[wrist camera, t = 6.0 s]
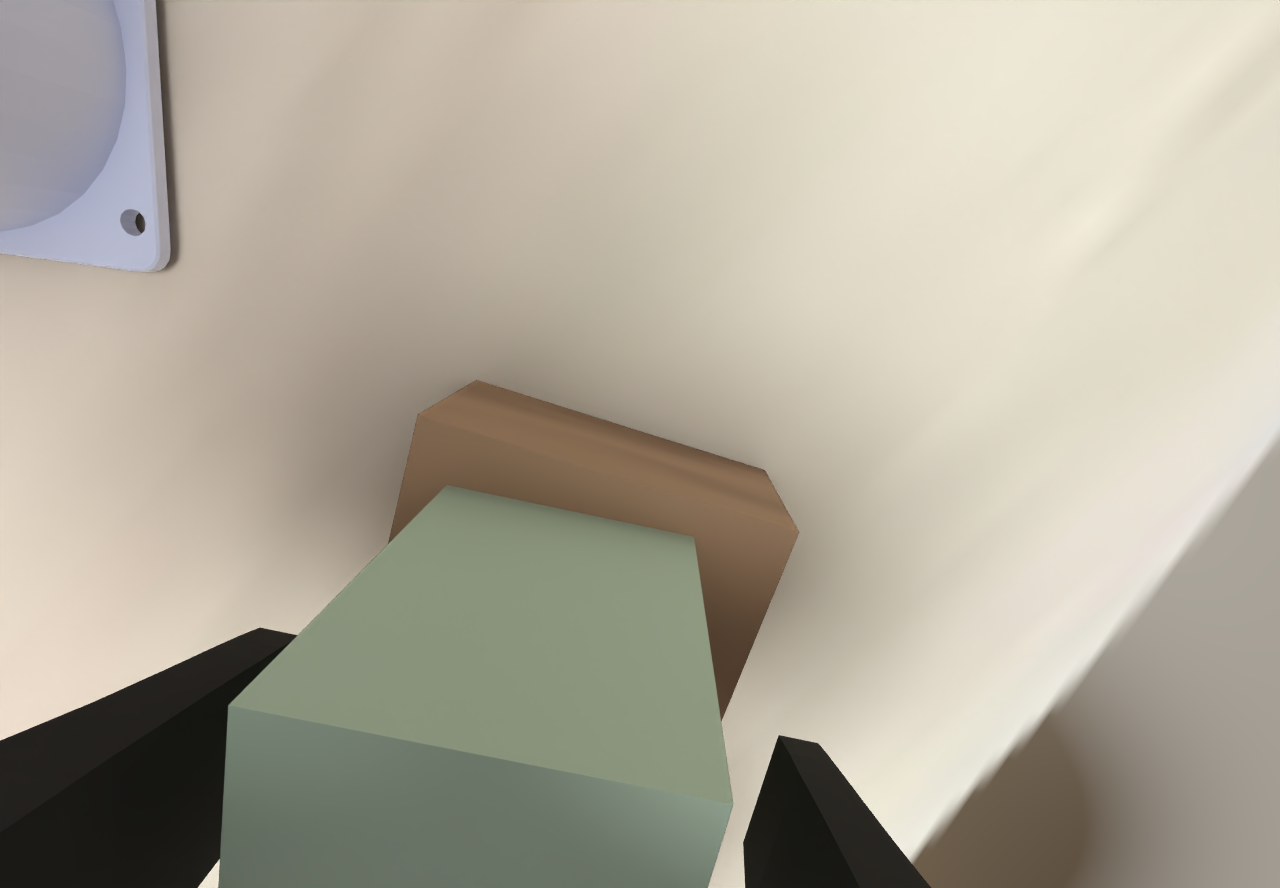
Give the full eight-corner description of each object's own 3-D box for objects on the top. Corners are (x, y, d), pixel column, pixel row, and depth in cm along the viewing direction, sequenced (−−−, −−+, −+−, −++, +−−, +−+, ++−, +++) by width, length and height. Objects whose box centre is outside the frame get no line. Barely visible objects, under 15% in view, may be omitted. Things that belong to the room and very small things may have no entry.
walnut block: (479, 378, 15) (417, 414, 11) (762, 467, 15) (799, 531, 11) (415, 632, 17) (343, 740, 13) (671, 706, 17) (675, 832, 13)
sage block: (446, 485, 11) (227, 706, 6) (693, 536, 11) (733, 804, 6) (416, 698, 12) (207, 1066, 7) (641, 743, 13) (628, 1140, 7)
